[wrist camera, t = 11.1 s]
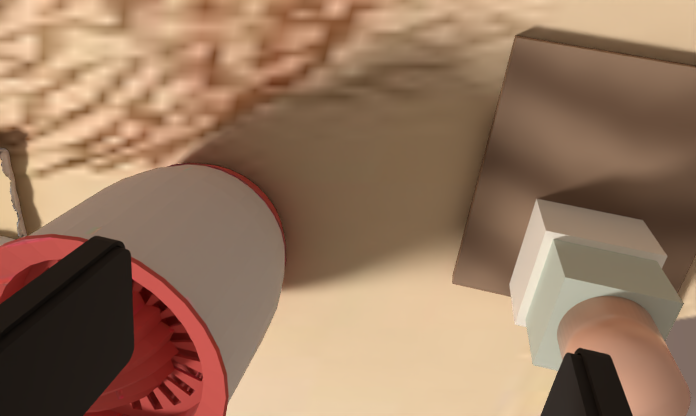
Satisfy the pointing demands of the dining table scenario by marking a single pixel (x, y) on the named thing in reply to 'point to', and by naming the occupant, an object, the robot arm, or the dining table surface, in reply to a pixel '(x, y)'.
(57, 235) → the citrus juicer
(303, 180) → the dining table surface
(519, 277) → the cream block
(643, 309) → the pink domed cylinder
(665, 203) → the serving board
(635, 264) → the sage block
